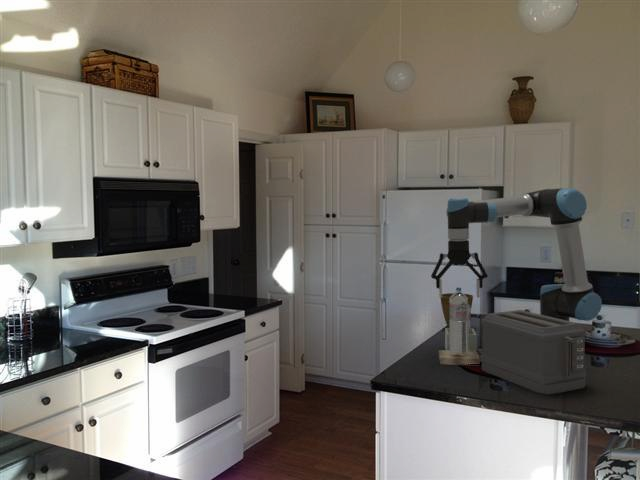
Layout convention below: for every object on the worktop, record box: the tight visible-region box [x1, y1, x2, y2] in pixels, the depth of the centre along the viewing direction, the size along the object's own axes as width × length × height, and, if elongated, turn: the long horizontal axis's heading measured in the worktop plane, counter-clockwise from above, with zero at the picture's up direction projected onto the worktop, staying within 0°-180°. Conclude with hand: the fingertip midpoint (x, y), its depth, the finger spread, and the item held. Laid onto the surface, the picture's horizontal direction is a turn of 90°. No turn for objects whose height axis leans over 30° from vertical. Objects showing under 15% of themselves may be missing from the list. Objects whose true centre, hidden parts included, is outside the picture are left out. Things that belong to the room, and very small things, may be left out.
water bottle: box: [449, 287, 468, 356], centre depth 218 cm, size 7×7×25 cm
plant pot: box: [440, 292, 474, 328], centre depth 271 cm, size 15×15×16 cm
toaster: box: [479, 309, 588, 395], centre depth 196 cm, size 19×34×20 cm, turn 23°
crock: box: [444, 327, 478, 352], centre depth 233 cm, size 11×11×8 cm
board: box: [438, 349, 481, 366], centre depth 219 cm, size 14×11×2 cm
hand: (459, 297), depth 218 cm, fingers open, 13 cm apart
